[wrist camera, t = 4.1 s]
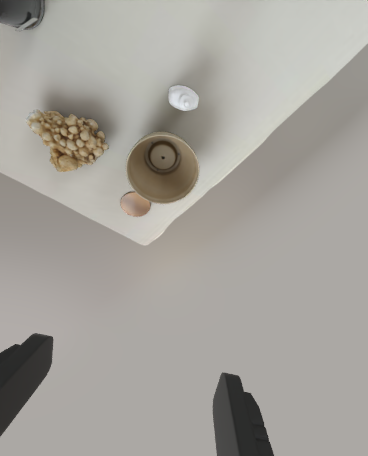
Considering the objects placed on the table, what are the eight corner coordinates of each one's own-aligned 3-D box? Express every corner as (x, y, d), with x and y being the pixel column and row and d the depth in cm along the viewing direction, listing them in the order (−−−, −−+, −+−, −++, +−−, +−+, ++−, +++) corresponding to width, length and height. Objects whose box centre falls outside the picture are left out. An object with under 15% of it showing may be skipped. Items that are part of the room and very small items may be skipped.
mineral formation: (32, 103, 39) (103, 103, 40) (63, 161, 50) (120, 160, 50) (11, 119, 34) (93, 118, 35) (51, 179, 45) (113, 178, 45)
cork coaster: (121, 189, 55) (121, 189, 54) (152, 195, 57) (152, 196, 57) (119, 213, 60) (119, 213, 60) (147, 217, 62) (147, 218, 62)
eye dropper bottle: (176, 74, 39) (181, 78, 30) (197, 94, 41) (207, 103, 32) (164, 95, 41) (165, 104, 32) (185, 113, 43) (191, 126, 34)
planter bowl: (126, 174, 52) (120, 195, 44) (138, 110, 42) (133, 121, 34) (181, 189, 56) (184, 211, 48) (202, 135, 47) (211, 150, 39)
